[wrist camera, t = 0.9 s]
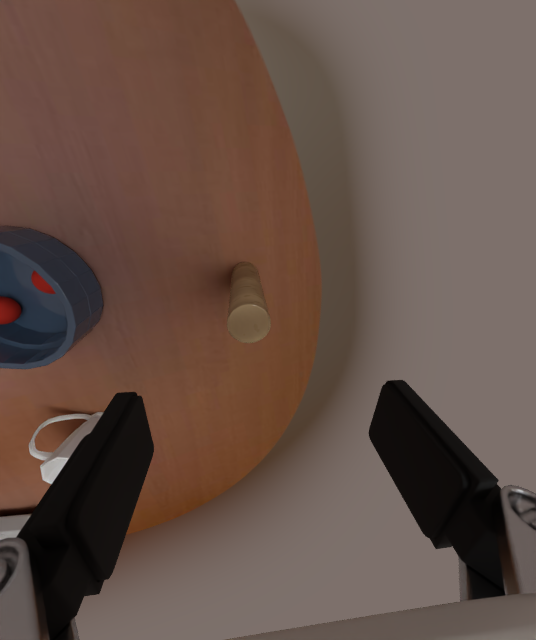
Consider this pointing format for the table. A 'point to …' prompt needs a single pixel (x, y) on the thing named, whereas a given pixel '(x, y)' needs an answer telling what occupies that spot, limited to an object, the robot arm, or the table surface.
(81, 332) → the bowl
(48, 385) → the table surface
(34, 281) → the ball
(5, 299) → the ball
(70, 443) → the cup
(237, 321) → the stick
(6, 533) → the game controller
